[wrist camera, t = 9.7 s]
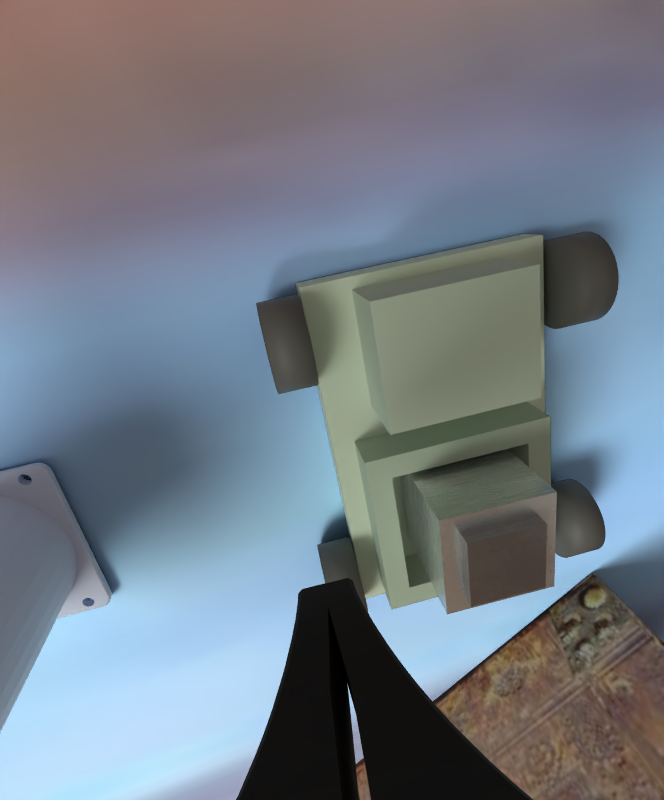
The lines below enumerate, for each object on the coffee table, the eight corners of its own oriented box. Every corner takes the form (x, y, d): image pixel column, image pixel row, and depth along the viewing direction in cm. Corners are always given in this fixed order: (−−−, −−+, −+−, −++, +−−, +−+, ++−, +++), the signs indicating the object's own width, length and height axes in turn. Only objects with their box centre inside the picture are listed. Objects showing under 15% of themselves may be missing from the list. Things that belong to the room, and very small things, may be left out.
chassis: (328, 586, 25) (343, 658, 21) (254, 291, 19) (255, 310, 15) (558, 523, 26) (616, 580, 22) (559, 225, 20) (640, 226, 16)
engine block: (407, 534, 23) (453, 626, 17) (397, 455, 21) (444, 531, 16) (493, 513, 23) (563, 597, 18) (491, 433, 21) (567, 501, 16)
